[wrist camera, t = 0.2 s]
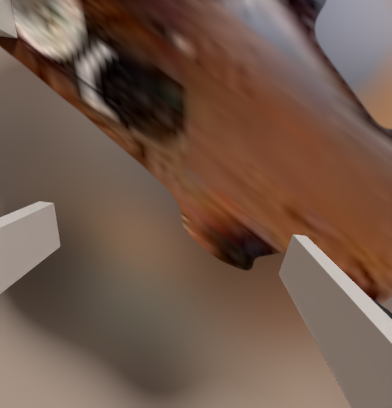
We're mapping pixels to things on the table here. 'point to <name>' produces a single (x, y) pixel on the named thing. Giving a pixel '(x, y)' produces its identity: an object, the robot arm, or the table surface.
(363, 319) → the robot arm
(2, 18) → the bin
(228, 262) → the table surface
